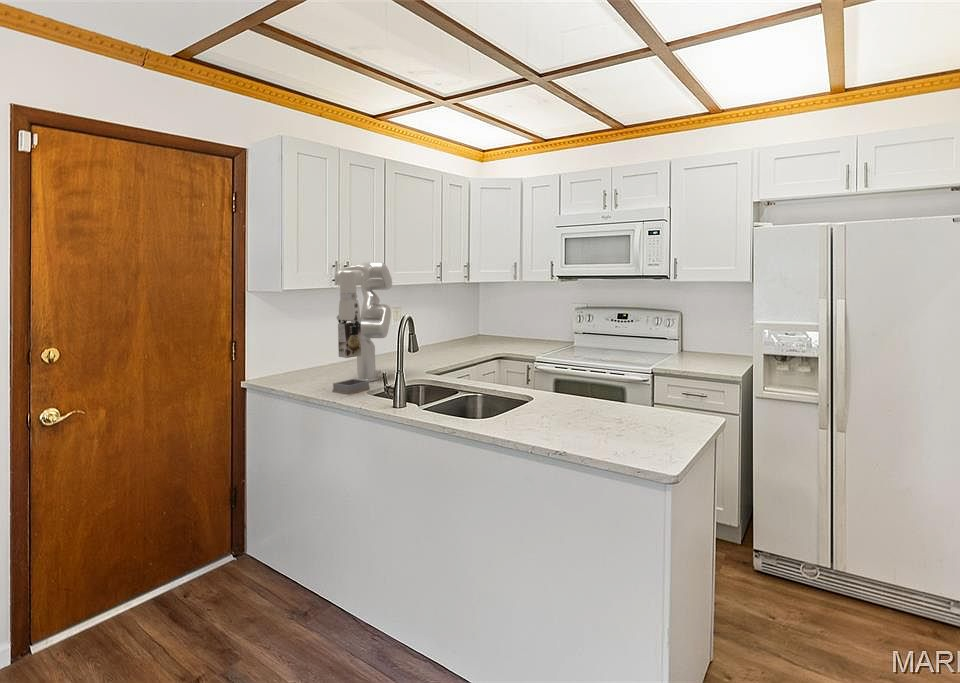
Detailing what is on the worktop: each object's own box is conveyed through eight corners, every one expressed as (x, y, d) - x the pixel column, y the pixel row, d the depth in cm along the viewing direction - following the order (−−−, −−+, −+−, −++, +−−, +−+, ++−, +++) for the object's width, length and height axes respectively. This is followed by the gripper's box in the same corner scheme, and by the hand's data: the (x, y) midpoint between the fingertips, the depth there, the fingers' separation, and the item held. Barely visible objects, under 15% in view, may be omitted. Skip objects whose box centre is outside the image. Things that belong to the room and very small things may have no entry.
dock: (353, 386, 282) (353, 378, 281) (369, 389, 276) (369, 381, 275) (332, 391, 270) (332, 383, 270) (349, 394, 265) (349, 386, 264)
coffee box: (347, 358, 266) (346, 324, 263) (338, 357, 270) (337, 323, 267) (362, 355, 273) (361, 322, 271) (353, 354, 277) (352, 321, 275)
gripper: (367, 297, 266) (368, 334, 268) (341, 296, 275) (342, 332, 278) (356, 297, 260) (357, 336, 262) (329, 296, 269) (330, 334, 271)
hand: (349, 334), depth 270 cm, fingers closed on coffee box, 6 cm apart
